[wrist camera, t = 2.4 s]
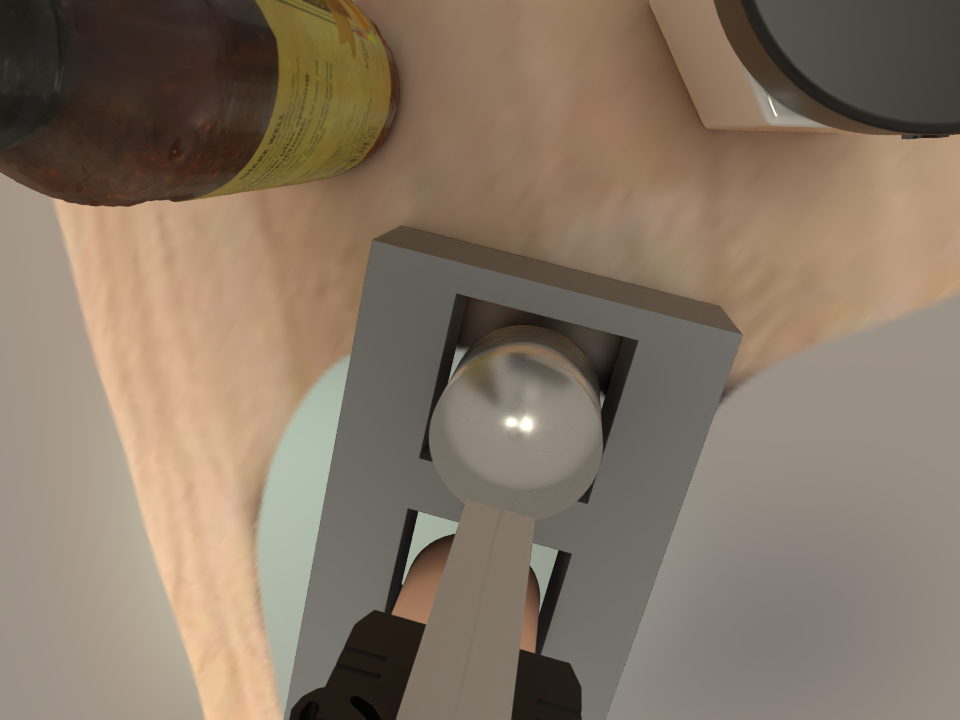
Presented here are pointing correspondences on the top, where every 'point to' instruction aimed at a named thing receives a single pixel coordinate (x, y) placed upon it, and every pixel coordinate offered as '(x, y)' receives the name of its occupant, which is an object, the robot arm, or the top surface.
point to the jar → (819, 64)
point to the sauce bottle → (188, 96)
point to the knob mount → (418, 487)
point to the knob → (519, 423)
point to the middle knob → (426, 581)
